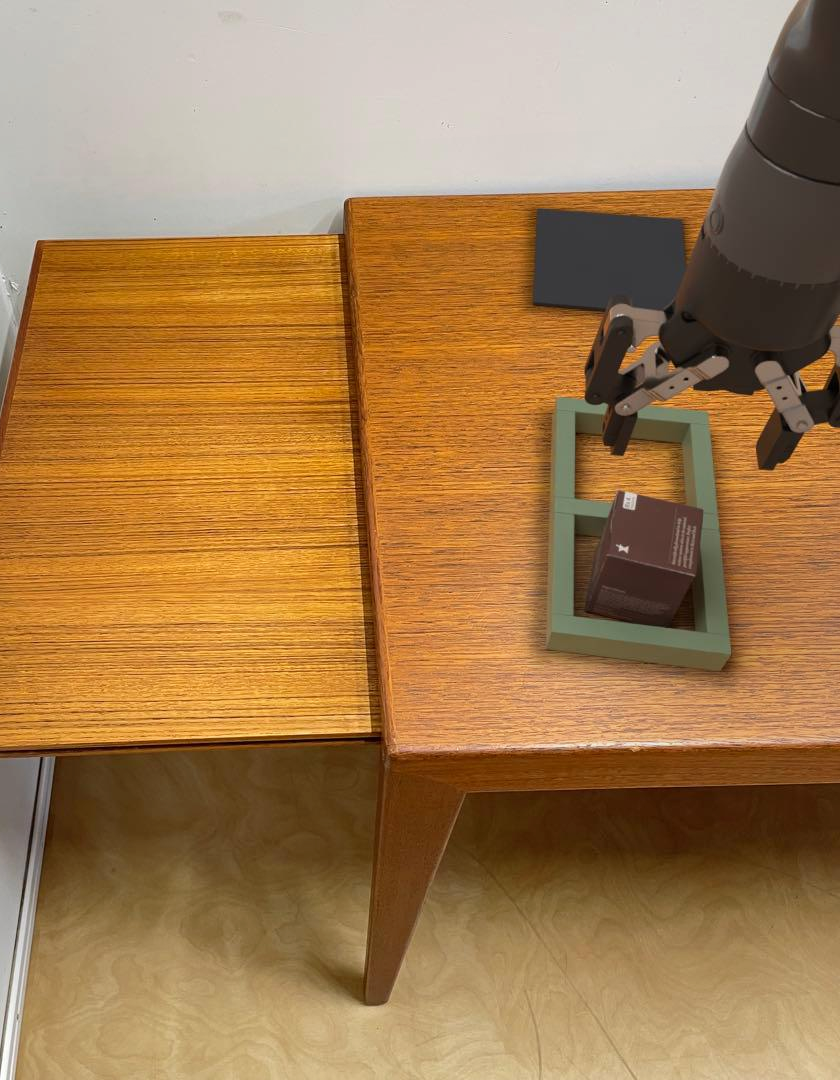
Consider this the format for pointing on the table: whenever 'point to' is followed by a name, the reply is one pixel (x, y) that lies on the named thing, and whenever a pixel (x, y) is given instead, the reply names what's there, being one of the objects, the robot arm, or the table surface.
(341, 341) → the table surface
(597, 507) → the rack
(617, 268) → the mat
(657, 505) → the box
